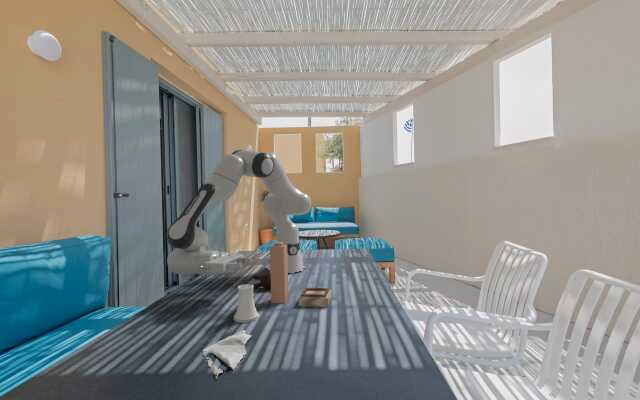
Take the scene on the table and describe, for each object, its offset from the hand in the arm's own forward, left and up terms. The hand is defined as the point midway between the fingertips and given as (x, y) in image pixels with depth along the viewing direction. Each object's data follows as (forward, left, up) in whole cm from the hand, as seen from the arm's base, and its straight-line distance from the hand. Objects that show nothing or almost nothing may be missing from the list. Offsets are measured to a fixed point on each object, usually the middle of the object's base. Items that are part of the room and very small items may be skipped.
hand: (246, 263), depth 125 cm
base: (+16, +19, -13) cm, 29 cm away
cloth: (+37, -18, -14) cm, 44 cm away
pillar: (+8, +9, -13) cm, 18 cm away
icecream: (-10, +13, -14) cm, 21 cm away
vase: (+18, -6, -14) cm, 23 cm away
